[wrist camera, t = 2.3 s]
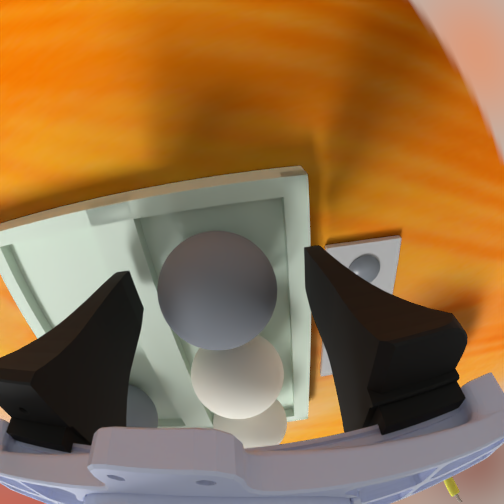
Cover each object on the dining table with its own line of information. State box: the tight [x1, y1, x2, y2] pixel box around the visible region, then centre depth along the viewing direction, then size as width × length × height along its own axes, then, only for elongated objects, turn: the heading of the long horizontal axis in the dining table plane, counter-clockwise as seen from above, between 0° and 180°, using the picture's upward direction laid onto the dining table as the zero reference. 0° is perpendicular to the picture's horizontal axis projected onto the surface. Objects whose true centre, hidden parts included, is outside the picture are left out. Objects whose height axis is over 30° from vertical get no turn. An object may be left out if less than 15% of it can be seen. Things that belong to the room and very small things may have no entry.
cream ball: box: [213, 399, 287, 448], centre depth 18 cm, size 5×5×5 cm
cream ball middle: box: [191, 335, 284, 419], centre depth 15 cm, size 5×5×5 cm
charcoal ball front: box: [157, 231, 277, 350], centre depth 12 cm, size 5×5×5 cm
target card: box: [320, 235, 401, 376], centre depth 17 cm, size 10×4×1 cm, turn 7°
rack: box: [0, 166, 311, 429], centre depth 17 cm, size 18×16×1 cm
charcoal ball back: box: [126, 384, 158, 428], centre depth 17 cm, size 5×5×5 cm
